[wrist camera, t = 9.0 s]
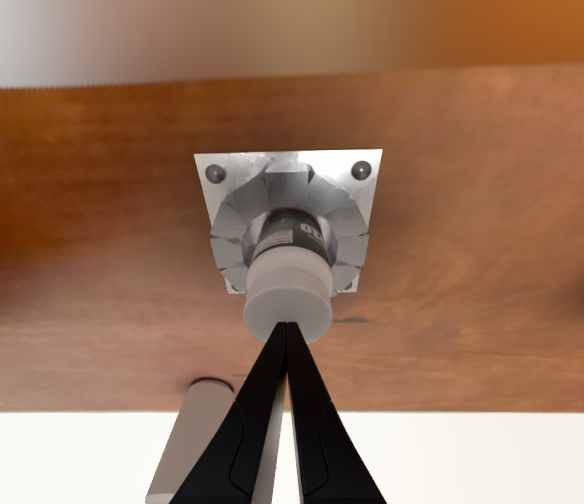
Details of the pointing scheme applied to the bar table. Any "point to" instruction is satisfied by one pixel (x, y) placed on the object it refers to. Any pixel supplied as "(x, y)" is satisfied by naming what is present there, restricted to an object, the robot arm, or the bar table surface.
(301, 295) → the pill bottle
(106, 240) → the bar table surface
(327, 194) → the socket
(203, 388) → the beverage can
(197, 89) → the bar table surface
